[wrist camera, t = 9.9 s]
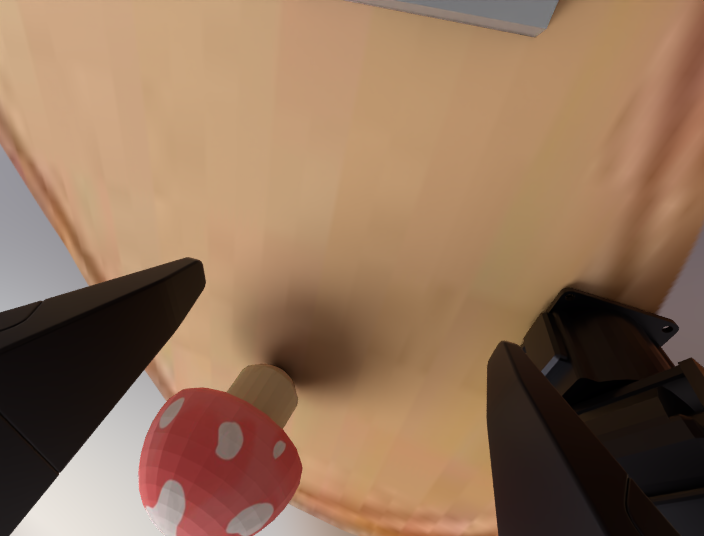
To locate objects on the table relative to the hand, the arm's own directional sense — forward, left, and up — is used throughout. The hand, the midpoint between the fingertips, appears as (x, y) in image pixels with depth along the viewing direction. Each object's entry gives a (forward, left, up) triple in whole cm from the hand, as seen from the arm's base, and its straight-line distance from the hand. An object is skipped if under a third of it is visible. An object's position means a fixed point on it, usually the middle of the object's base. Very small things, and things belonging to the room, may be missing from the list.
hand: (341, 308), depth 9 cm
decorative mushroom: (+8, +23, -13) cm, 28 cm away
